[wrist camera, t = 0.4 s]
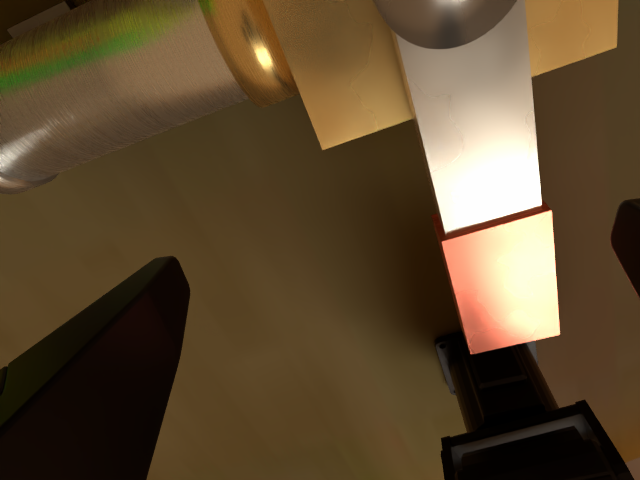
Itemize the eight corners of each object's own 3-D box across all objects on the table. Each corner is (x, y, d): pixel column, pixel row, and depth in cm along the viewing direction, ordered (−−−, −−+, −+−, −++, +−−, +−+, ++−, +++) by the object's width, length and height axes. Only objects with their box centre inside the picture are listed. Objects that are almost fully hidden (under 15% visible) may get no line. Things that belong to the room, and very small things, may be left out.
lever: (344, -96, 10) (347, -100, 9) (501, -170, 9) (531, -186, 8) (457, 325, 18) (468, 355, 17) (544, 304, 18) (562, 333, 16)
